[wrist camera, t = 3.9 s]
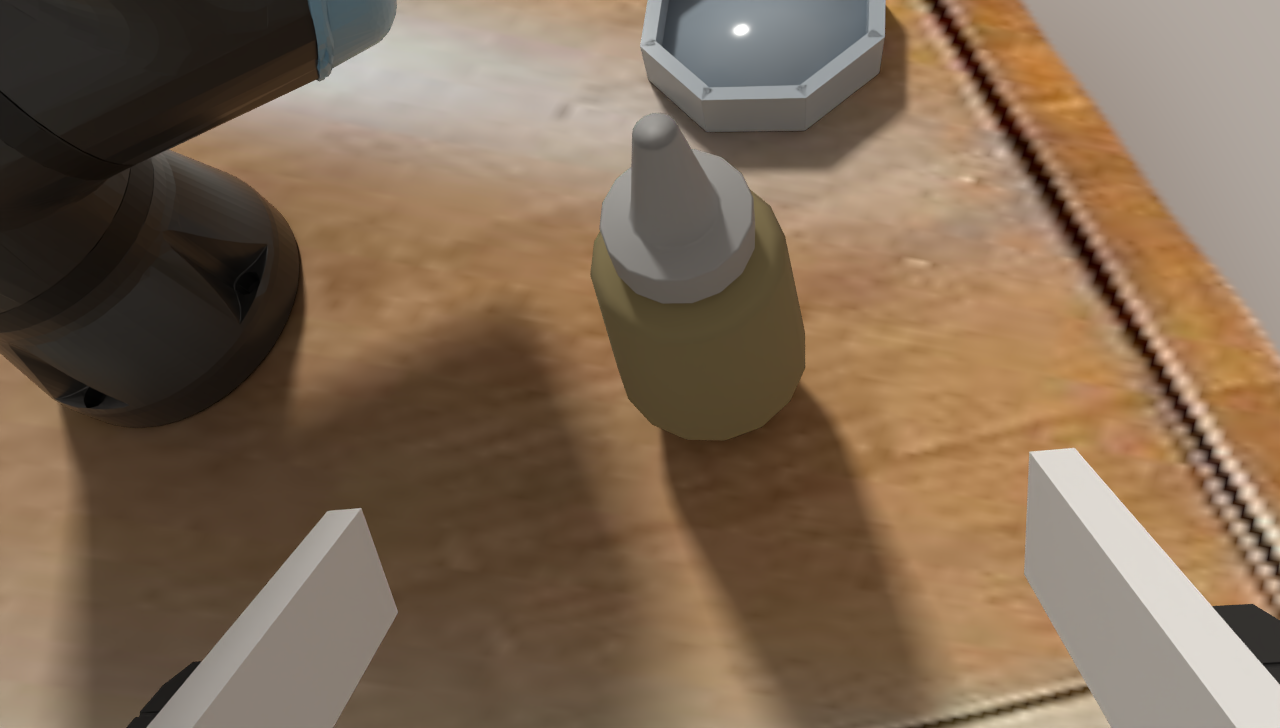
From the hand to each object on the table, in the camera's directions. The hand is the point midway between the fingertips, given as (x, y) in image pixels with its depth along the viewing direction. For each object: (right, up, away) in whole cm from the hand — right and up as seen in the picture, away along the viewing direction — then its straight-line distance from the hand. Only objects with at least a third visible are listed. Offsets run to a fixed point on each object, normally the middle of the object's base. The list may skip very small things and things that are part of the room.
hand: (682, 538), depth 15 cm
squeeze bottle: (+3, +3, +21) cm, 21 cm away
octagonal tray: (+6, +22, +27) cm, 36 cm away
